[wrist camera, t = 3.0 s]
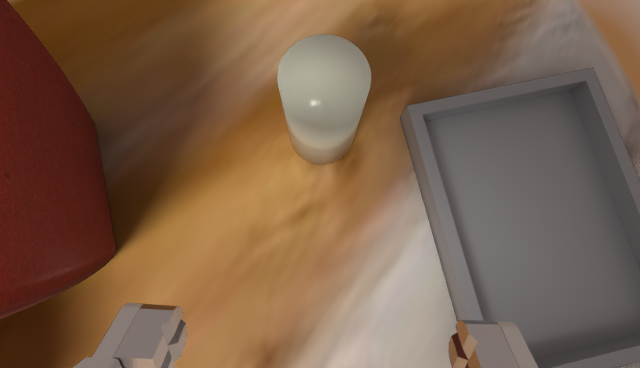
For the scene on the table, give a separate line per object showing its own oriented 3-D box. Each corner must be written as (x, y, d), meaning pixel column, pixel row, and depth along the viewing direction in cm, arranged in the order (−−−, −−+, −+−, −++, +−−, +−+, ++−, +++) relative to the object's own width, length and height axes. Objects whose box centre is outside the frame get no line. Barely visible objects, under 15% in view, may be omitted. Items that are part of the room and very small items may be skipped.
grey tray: (671, 336, 27) (706, 344, 25) (475, 385, 26) (491, 399, 24) (571, 81, 31) (592, 67, 29) (399, 117, 31) (407, 105, 28)
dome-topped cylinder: (360, 157, 30) (381, 110, 20) (297, 170, 30) (287, 129, 20) (345, 98, 31) (358, 26, 21) (284, 111, 31) (269, 43, 21)
